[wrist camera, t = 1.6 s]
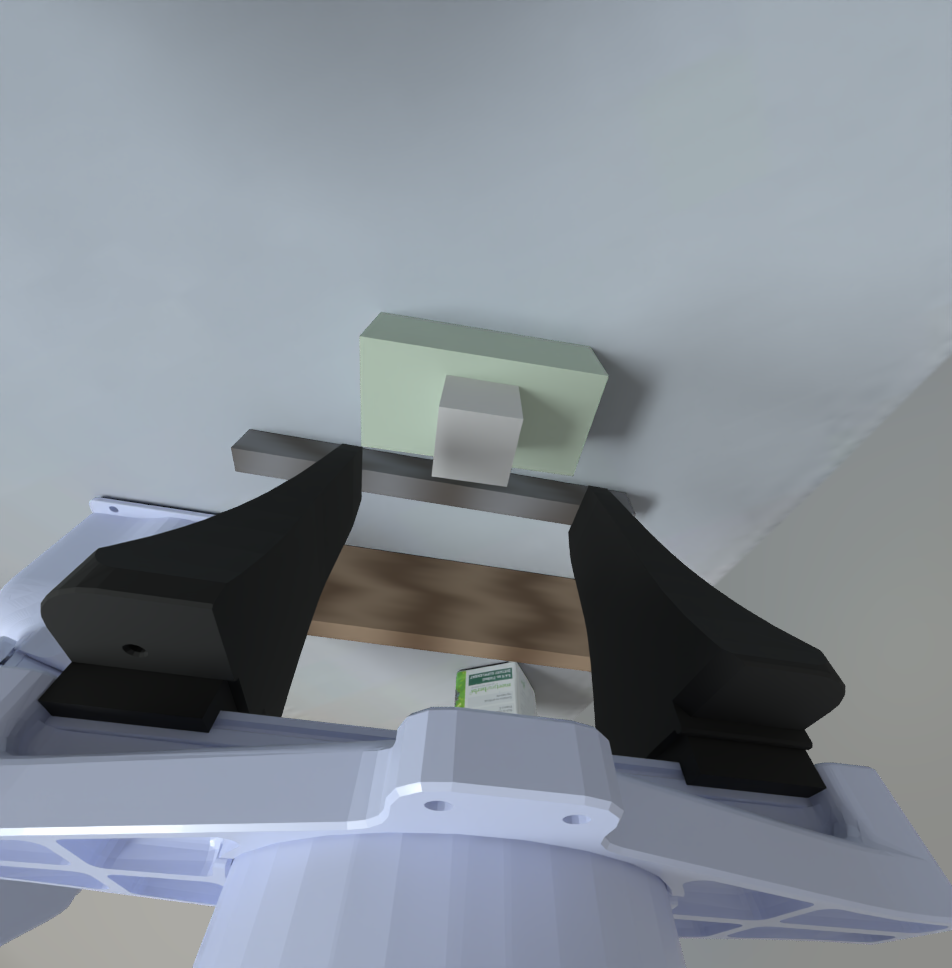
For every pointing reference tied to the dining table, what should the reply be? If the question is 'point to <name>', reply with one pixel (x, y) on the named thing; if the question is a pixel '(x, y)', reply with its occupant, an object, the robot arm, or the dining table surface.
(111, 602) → the robot arm
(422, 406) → the mint block with knob
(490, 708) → the syrup box
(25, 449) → the dining table surface
